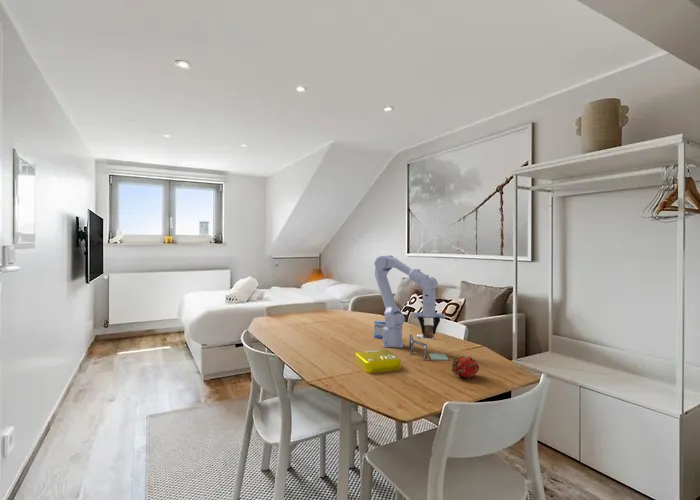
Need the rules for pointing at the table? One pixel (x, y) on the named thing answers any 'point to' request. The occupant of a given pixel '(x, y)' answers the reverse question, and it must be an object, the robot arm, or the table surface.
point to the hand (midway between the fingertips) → (428, 333)
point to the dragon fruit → (465, 367)
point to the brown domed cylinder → (428, 331)
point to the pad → (438, 356)
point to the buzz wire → (419, 344)
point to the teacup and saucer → (421, 336)
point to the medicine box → (379, 328)
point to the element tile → (377, 361)
